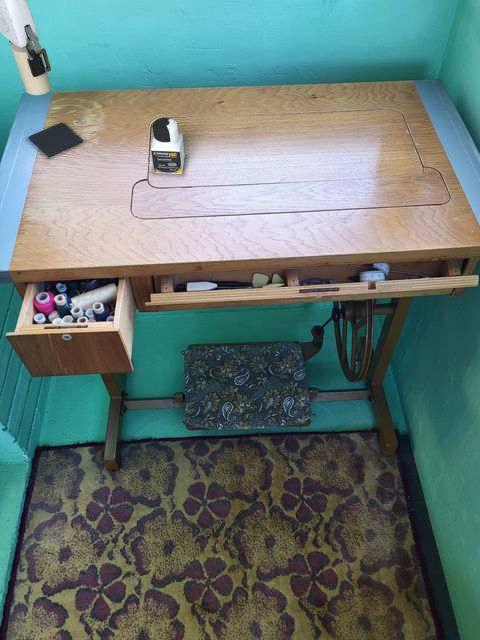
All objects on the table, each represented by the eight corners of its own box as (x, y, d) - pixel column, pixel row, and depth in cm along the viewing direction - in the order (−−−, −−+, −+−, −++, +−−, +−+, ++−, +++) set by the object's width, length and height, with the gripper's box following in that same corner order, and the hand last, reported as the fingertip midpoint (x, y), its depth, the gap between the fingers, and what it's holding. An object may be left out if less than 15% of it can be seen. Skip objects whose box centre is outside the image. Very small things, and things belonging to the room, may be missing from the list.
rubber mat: (48, 157, 135) (48, 155, 134) (29, 139, 139) (28, 136, 138) (82, 142, 139) (81, 139, 138) (62, 124, 142) (61, 122, 142)
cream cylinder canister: (33, 98, 124) (19, 55, 116) (20, 87, 126) (5, 44, 118) (61, 87, 127) (49, 44, 119) (48, 76, 129) (35, 33, 121)
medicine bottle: (154, 173, 133) (147, 131, 123) (157, 155, 137) (151, 113, 127) (182, 174, 133) (178, 132, 123) (184, 156, 137) (180, 114, 127)
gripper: (-35, -29, 109) (-2, 58, 124) (7, 2, 103) (36, 90, 118) (-1, -39, 112) (27, 48, 127) (42, -9, 106) (66, 78, 121)
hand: (31, 67), depth 122 cm, fingers closed on cream cylinder canister, 6 cm apart
